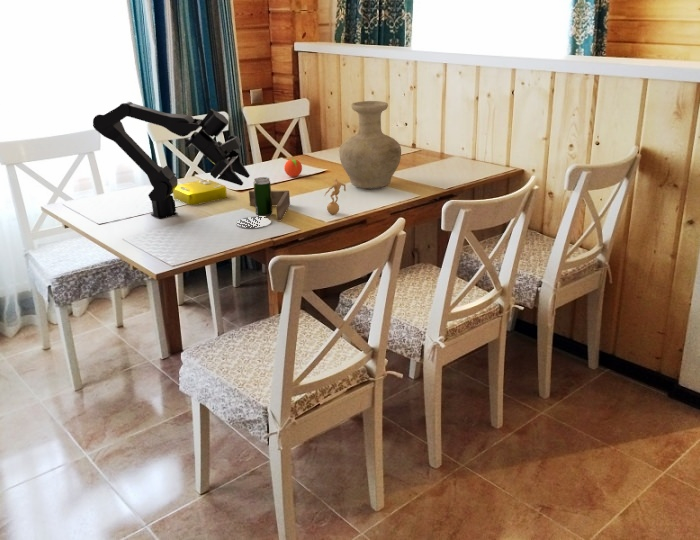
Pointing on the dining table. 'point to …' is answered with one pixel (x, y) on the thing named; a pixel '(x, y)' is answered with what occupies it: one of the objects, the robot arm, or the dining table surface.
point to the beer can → (263, 196)
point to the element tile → (199, 192)
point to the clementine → (293, 167)
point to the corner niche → (275, 201)
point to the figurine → (333, 206)
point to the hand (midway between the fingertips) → (245, 180)
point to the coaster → (250, 222)
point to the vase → (370, 149)
